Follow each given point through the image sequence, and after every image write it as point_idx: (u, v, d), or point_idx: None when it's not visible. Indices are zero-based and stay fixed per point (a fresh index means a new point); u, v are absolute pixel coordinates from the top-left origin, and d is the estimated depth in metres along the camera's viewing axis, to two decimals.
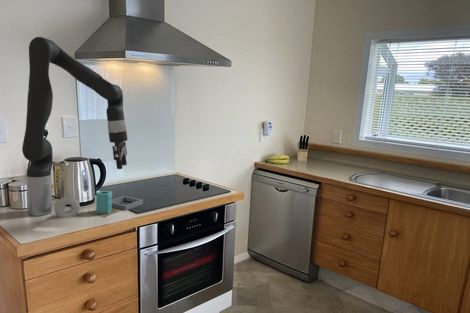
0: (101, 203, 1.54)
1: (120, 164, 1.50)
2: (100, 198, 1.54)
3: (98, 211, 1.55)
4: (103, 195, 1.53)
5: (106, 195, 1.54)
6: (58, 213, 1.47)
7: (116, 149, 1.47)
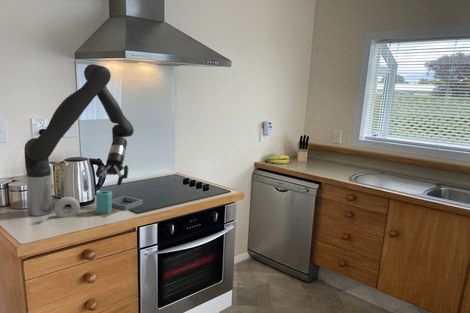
0: (101, 203, 1.54)
1: None
2: (100, 198, 1.54)
3: (98, 211, 1.55)
4: (103, 195, 1.53)
5: (106, 195, 1.54)
6: (58, 213, 1.47)
7: (127, 169, 1.68)
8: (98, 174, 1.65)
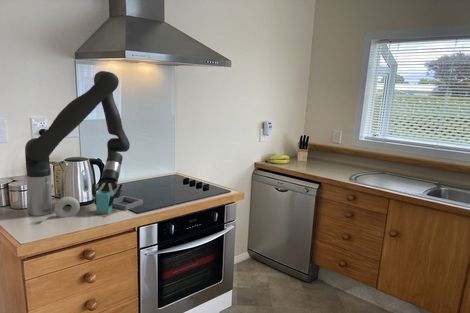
0: (101, 203, 1.54)
1: None
2: (100, 198, 1.54)
3: (98, 211, 1.55)
4: (103, 195, 1.53)
5: (106, 195, 1.54)
6: (58, 213, 1.47)
7: (121, 189, 1.61)
8: (94, 194, 1.57)
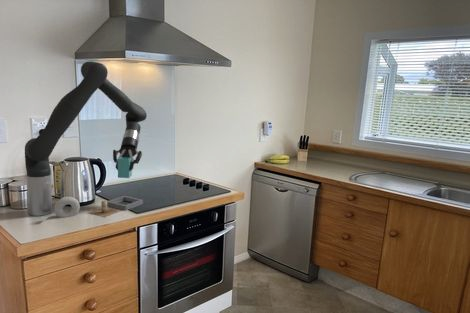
0: (122, 168, 1.63)
1: None
2: (121, 163, 1.63)
3: (119, 175, 1.64)
4: (124, 160, 1.63)
5: (127, 160, 1.63)
6: (58, 213, 1.47)
7: (141, 155, 1.70)
8: (116, 159, 1.66)
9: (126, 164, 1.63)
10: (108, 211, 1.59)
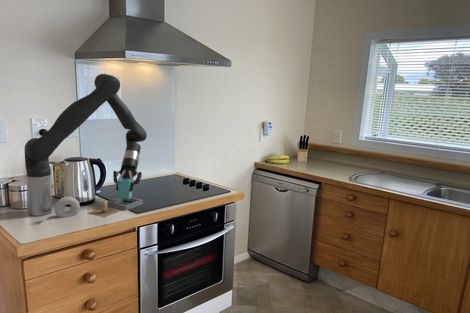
0: (123, 189, 1.65)
1: None
2: (121, 184, 1.65)
3: (120, 196, 1.66)
4: (124, 181, 1.65)
5: (127, 181, 1.65)
6: (58, 213, 1.47)
7: (141, 176, 1.72)
8: (116, 180, 1.68)
9: (126, 185, 1.65)
10: (108, 211, 1.59)
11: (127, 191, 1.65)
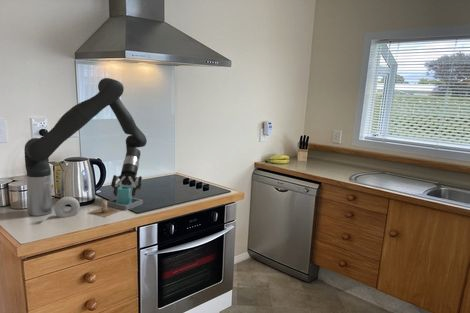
0: (123, 198, 1.66)
1: None
2: (121, 193, 1.65)
3: None
4: (124, 190, 1.65)
5: (127, 190, 1.65)
6: (58, 213, 1.47)
7: (141, 180, 1.72)
8: (114, 185, 1.69)
9: (126, 194, 1.66)
10: (108, 211, 1.59)
11: (127, 200, 1.66)
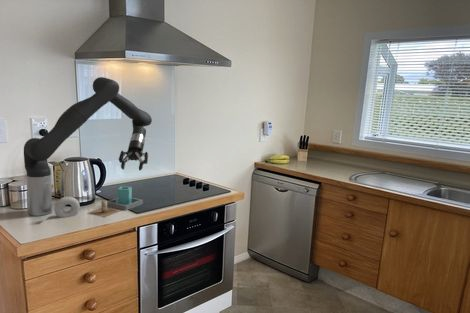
0: (123, 198, 1.66)
1: None
2: (121, 193, 1.65)
3: None
4: (124, 190, 1.65)
5: (127, 190, 1.65)
6: (58, 213, 1.47)
7: (147, 156, 1.84)
8: (121, 160, 1.80)
9: (126, 194, 1.66)
10: (108, 211, 1.59)
11: (127, 200, 1.66)
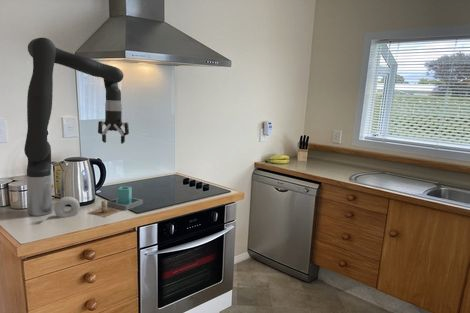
0: (123, 198, 1.66)
1: None
2: (121, 193, 1.65)
3: None
4: (124, 190, 1.65)
5: (127, 190, 1.65)
6: (58, 213, 1.47)
7: (127, 125, 1.72)
8: (100, 132, 1.71)
9: (126, 194, 1.66)
10: (108, 211, 1.59)
11: (127, 200, 1.66)
